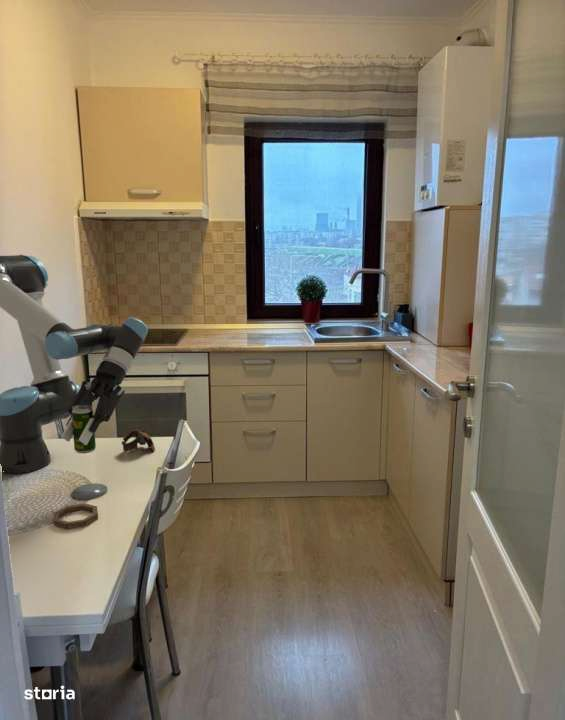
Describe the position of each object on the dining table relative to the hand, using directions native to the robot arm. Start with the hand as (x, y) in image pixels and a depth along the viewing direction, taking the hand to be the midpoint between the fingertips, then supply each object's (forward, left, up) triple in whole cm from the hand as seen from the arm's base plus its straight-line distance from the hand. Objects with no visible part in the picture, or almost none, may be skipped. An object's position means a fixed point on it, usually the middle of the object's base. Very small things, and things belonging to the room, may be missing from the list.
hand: (73, 440), depth 142 cm
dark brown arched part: (-8, +35, -16) cm, 40 cm away
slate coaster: (0, +4, -16) cm, 17 cm away
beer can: (0, +4, -4) cm, 6 cm away
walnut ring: (+8, -9, -16) cm, 20 cm away
